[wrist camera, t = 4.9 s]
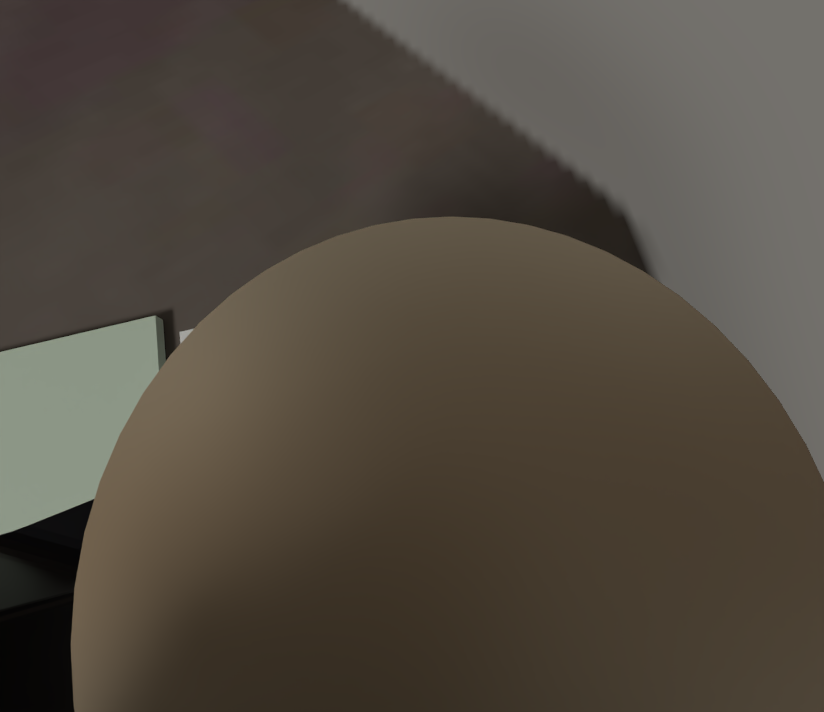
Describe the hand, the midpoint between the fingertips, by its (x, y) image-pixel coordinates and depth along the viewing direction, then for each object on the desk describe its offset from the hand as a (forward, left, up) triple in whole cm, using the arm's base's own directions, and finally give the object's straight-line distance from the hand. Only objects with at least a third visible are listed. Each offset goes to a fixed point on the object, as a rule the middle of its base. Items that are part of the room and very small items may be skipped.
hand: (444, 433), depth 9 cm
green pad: (+5, +17, -9) cm, 20 cm away
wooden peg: (-1, +1, -7) cm, 7 cm away
